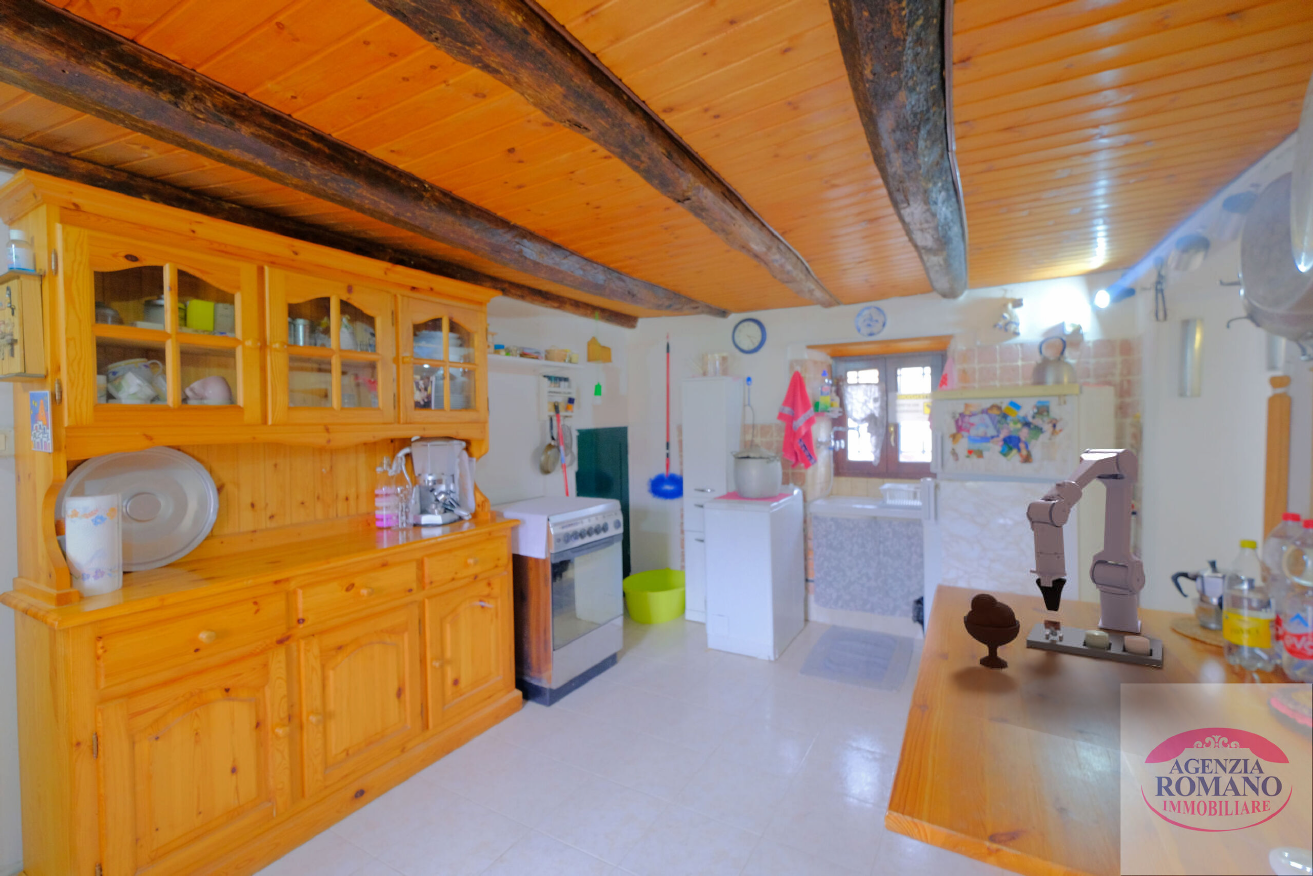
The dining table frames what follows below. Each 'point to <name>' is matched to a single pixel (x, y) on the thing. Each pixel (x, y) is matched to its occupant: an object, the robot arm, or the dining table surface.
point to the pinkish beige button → (1137, 645)
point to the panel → (1075, 643)
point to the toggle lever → (1052, 626)
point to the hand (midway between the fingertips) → (1052, 610)
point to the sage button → (1096, 639)
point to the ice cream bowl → (991, 627)
